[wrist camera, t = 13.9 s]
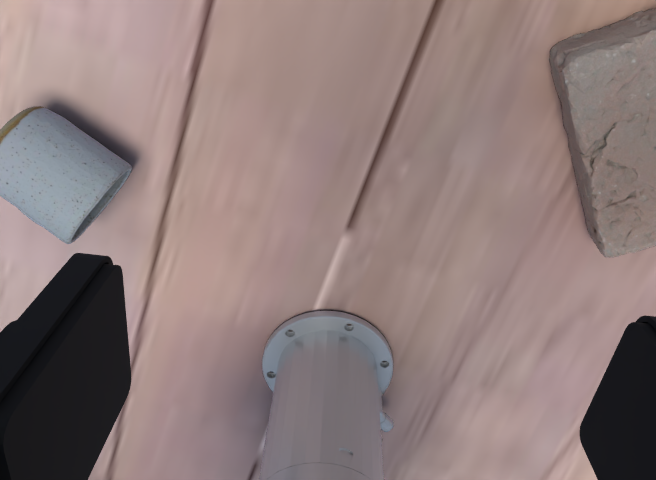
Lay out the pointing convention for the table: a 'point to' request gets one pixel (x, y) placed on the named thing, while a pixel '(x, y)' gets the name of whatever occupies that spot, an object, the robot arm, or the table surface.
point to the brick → (612, 128)
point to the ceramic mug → (57, 172)
